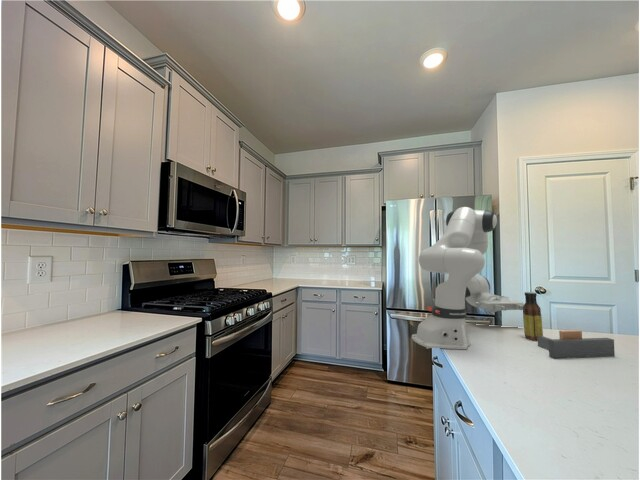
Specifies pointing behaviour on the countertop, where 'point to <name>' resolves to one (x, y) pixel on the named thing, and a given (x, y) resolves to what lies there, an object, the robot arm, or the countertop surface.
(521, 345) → the countertop surface
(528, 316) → the sauce bottle
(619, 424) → the countertop surface
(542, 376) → the countertop surface
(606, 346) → the grey base block
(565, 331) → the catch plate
